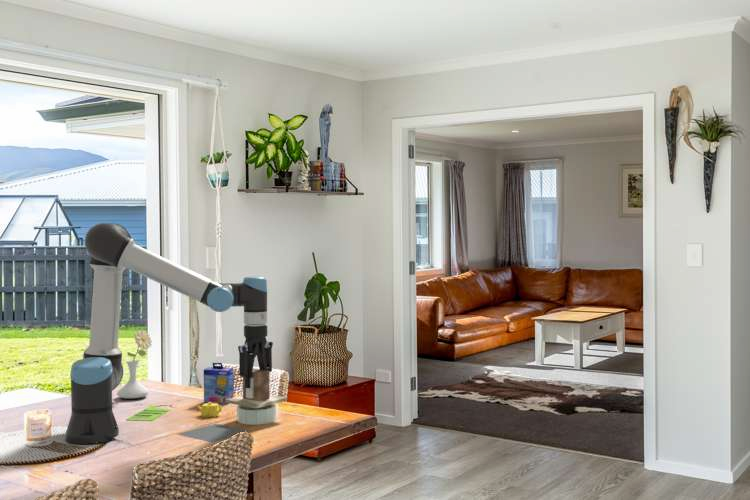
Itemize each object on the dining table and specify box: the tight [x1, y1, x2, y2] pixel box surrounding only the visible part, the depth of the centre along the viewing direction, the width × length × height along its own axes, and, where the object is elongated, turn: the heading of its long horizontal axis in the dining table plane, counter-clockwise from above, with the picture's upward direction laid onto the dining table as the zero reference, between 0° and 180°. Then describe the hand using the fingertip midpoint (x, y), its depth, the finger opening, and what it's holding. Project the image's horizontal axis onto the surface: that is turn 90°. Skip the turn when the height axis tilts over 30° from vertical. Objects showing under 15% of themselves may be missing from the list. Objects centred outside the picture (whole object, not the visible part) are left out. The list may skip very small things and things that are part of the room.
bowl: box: [236, 404, 277, 426], centre depth 266 cm, size 12×12×5 cm
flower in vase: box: [116, 329, 153, 400], centre depth 305 cm, size 13×11×25 cm
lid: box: [225, 368, 288, 408], centre depth 266 cm, size 14×14×10 cm
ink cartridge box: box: [203, 362, 235, 405], centre depth 297 cm, size 10×6×14 cm, turn 79°
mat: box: [177, 423, 251, 443], centre depth 250 cm, size 16×16×1 cm
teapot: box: [196, 402, 223, 418], centre depth 272 cm, size 8×6×5 cm
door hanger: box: [125, 404, 171, 422], centre depth 282 cm, size 9×1×25 cm
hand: (256, 396), depth 266 cm, fingers closed on lid, 5 cm apart
